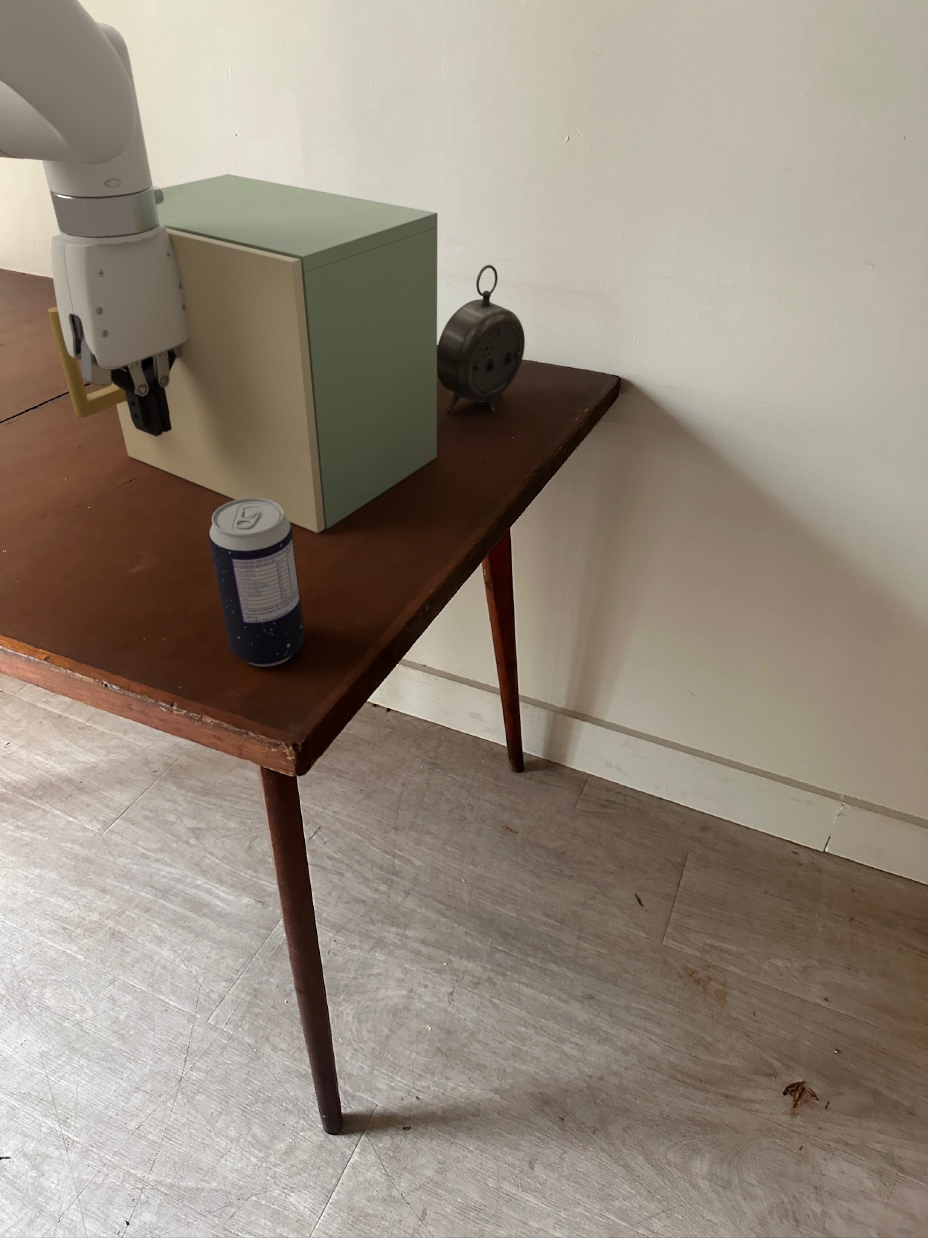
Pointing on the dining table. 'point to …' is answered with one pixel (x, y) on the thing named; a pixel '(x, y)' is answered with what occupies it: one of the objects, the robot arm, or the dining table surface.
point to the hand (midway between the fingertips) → (153, 429)
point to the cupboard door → (231, 382)
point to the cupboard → (344, 318)
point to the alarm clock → (480, 349)
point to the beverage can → (257, 580)
